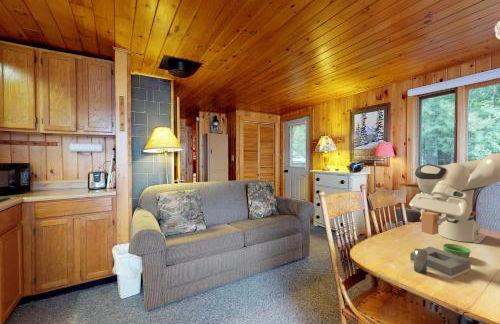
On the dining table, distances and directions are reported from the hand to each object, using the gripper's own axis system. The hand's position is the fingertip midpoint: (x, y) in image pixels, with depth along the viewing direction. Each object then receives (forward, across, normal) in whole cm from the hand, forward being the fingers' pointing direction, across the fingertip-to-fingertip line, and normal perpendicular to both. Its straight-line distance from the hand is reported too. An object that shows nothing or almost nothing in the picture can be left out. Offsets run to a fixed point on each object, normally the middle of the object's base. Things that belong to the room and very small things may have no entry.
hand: (429, 222), depth 95 cm
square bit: (+3, 0, +4) cm, 4 cm away
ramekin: (0, +2, +24) cm, 24 cm away
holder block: (+11, +3, +14) cm, 18 cm away
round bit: (+19, +2, +6) cm, 20 cm away
